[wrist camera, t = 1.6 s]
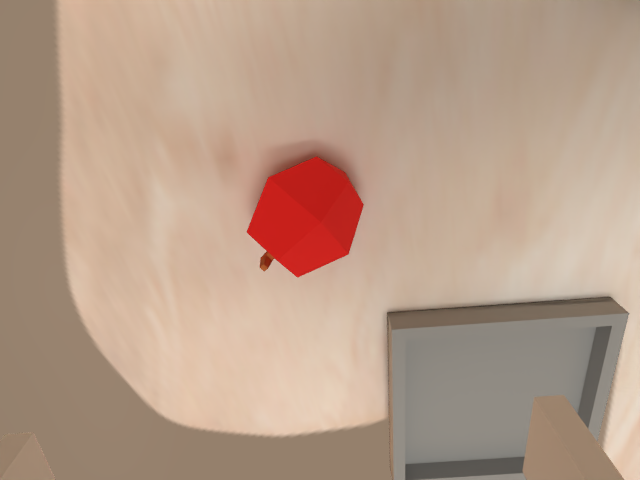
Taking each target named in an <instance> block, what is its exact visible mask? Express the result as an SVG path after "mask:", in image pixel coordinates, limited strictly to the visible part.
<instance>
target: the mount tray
mask: <svg viewBox="0 0 640 480" xmlns="http://www.w3.org/2000/svg"><path fill="white" fill-rule="evenodd" d="M628 315H629V313H628V312H627V311H626V310H625V309H624V308H622V307H621V306H620V305H619V304H618V303H617V302H616V301H614V300H613V299H612V298H611V297H604V298H590V299H575V300H561V301H547V302H533V303H519V304H505V305H490V306H476V307H462V308H448V309H434V310H420V311H405V312H391V313H387V321H388V381H389V435H390V436H389V437H390V470H391V476H392V480H526V478H525V475H524V473H523V471H522V470H523V464H524V458H525V452H526V445H527V439H528V433H529V426H530V420H531V414H532V407H533V401H534V397H541V396H556V395H564V396H565V397H566V398H567V400H568V401H569V403H570V404H571V405H572V407H573V408H574V410H575V411H576V413H577V414H578V415H579V417H580V418H581V420H582V421H583V422H584V424H585V425H586V427H587V428H588V429H589V431H590V432H591V434H592V435H593V436H594V438H595V439H596V441H597V440H598V436H599V432H600V428H601V424H602V420H603V416H604V412H605V408H606V404H607V400H608V396H609V392H610V388H611V384H612V380H613V376H614V372H615V368H616V364H617V360H618V356H619V352H620V348H621V344H622V340H623V335H624V331H625V327H626V323H627V319H628Z"/></svg>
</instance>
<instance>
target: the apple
mask: <svg viewBox="0 0 640 480" xmlns="http://www.w3.org/2000/svg"><path fill="white" fill-rule="evenodd" d="M363 205H364V204H363V203H362V201H361V199H360V198H359V196H358V194H357V192H356V191H355V189H354V187H353V185H352V184H351V182H350V180H349V178H348V177H347V175H346V173H345V172H343V171H342V170H340V169H338V168H336V167H334V166H333V165H331V164H329V163H327V162H326V161H324V160H322V159H320V158H318V157H314V158H312V159H310V160H307V161H305V162H303V163H300V164H298V165H296V166H293V167H291V168H289V169H287V170H284V171H282V172H280V173H277V174H275V175H273V176H270V177H268V179H267V182H266V184H265V187H264V190H263V192H262V195H261V197H260V200H259V202H258V205H257V207H256V210H255V212H254V215H253V217H252V220H251V222H250V225H249V227H248V230H247V233H248V234H249V235H250V236H251V237H252V238H253V239H255V240H256V241H257V242H258V243H259V244H260V245H261V246H262V247H263V248H264V249H265V250H266V251H267V252H266V253H265V254H264V255H263V256H262V257H261V260H260V268H261V269H262V270H263V271H265V270H267V269H268V267H269V266H270V264H271V262H272V260H273V259H274V258H275V259H276V260H277V261H278V262H280V263H281V264H282V265H283V266H284V267H286V268H287V269H288V270H289V271H290V272H292V273H293V274H294V275H295V276H296V277H300V276H302V275H304V274H306V273H309V272H311V271H313V270H315V269H317V268H320V267H322V266H324V265H326V264H328V263H331V262H333V261H335V260H337V259H339V258H341V257H344V256H346V255H348V254H349V251H350V248H351V244H352V241H353V238H354V235H355V231H356V228H357V225H358V221H359V218H360V215H361V212H362V208H363Z"/></svg>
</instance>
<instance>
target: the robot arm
mask: <svg viewBox="0 0 640 480" xmlns="http://www.w3.org/2000/svg"><path fill="white" fill-rule="evenodd" d="M522 471H523V473H524V475H525V478H526V480H624V479H623V477H622V476H621V474H620V473H619V472H618V470H617V469H616V467H615V466H614V465H613V463H612V462H611V460H610V459H609V458H608V456H607V455H606V453H605V452H604V450H603V449H602V448H601V446H600V445H599V443H598V442H597V441H596V439H595V438H594V436H593V435H592V434H591V432H590V431H589V429H588V428H587V427H586V425H585V424H584V422H583V421H582V420H581V418H580V417H579V415H578V414H577V413H576V411H575V410H574V408H573V407H572V405H571V404H570V403H569V401H568V400H567V398H566V397H565V396H564V395H556V396H541V397H534V401H533V407H532V414H531V420H530V426H529V433H528V439H527V445H526V452H525V458H524V464H523V470H522ZM0 480H55V477H54V475H53V473H52V471H51V469H50V467H49V464H48V462H47V460H46V458H45V456H44V454H43V452H42V449H41V447H40V445H39V443H38V441H37V439H36V437H35V435H34V433H33V432H31V433H17V434H5V435H4V436H3V437H2V439H1V440H0Z"/></svg>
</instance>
